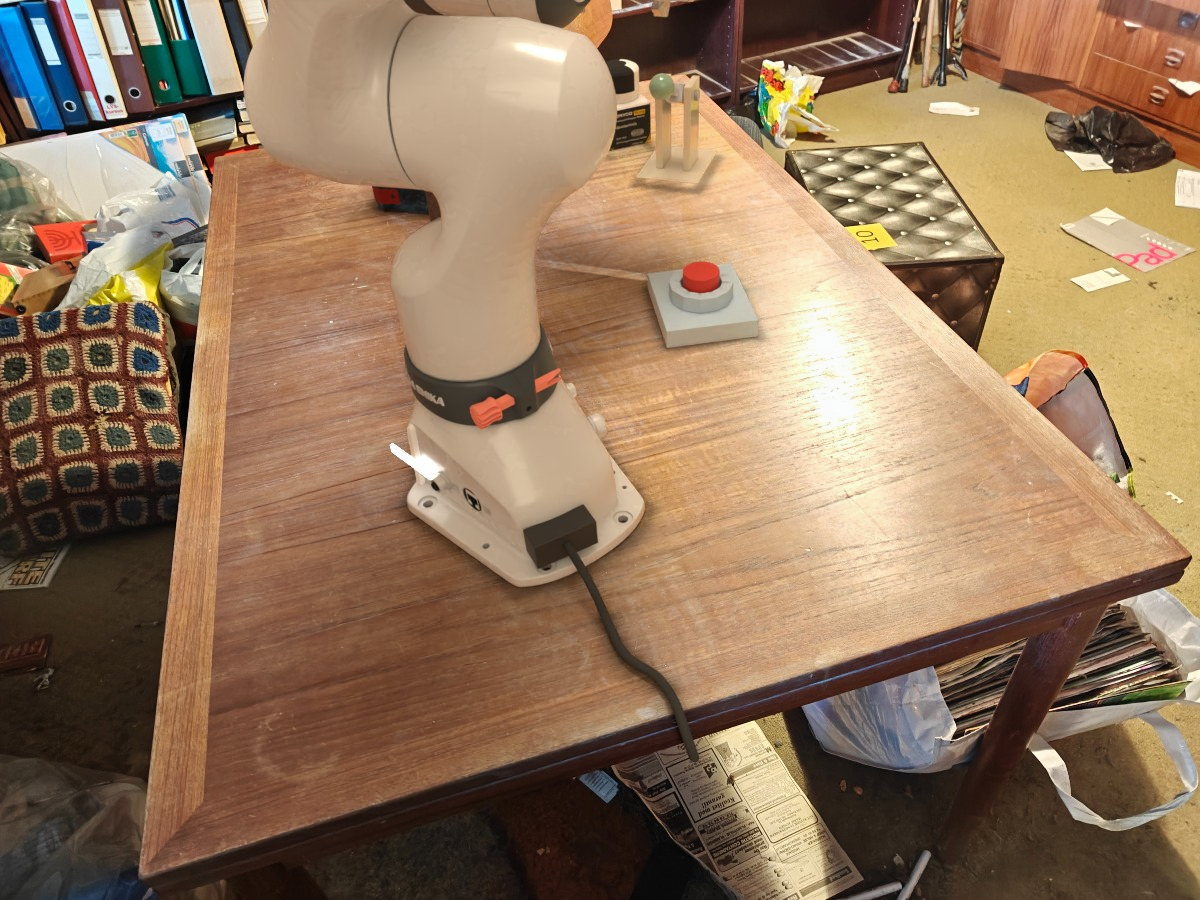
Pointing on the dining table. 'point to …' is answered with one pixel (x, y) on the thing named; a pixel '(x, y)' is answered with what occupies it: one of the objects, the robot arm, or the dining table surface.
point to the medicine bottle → (629, 106)
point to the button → (701, 277)
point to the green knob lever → (666, 89)
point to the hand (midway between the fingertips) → (620, 8)
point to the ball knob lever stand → (675, 160)
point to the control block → (701, 309)
